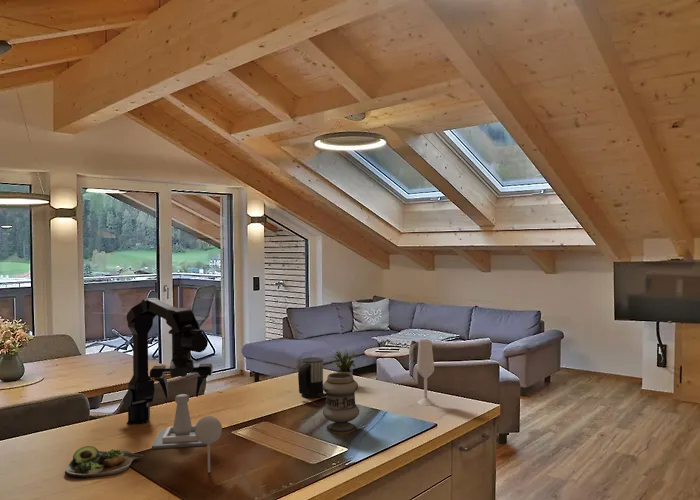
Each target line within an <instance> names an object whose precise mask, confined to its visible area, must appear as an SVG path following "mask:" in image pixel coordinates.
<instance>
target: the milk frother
mask: <svg viewBox="0 0 700 500" xmlns="http://www.w3.org/2000/svg"><path fill="white" fill-rule="evenodd" d="M297 379H298V380H297V381H298V393H299V394H301V397H303V398H307V399H317V398H326V392H325V393H324V390H323V384H324V358H322V357H316V356H315V357H313V356H311V357H309V356H308V357H304V358H301V366H300V367H299V368H298V373H297Z"/></svg>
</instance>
